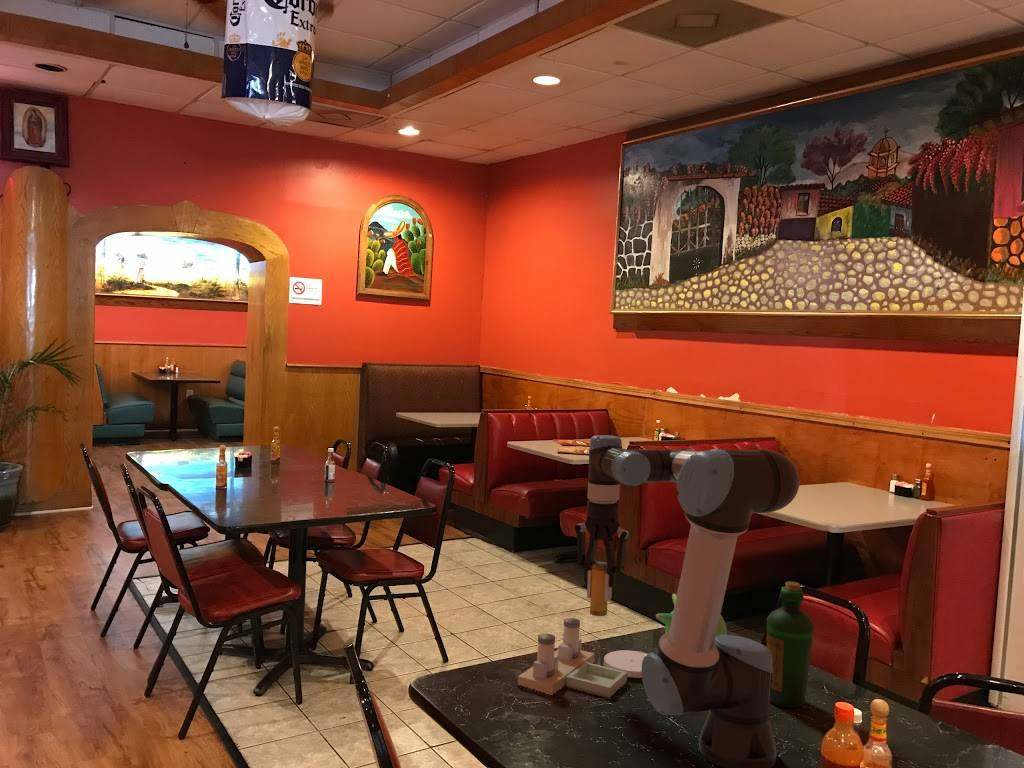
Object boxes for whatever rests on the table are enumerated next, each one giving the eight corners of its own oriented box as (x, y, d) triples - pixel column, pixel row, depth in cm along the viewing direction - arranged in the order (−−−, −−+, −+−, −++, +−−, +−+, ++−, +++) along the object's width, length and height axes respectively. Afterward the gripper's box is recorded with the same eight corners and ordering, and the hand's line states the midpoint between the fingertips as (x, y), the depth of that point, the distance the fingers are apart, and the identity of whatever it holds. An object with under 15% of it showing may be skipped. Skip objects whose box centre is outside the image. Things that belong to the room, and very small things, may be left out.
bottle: (767, 688, 204) (774, 574, 203) (813, 699, 199) (821, 582, 197) (756, 703, 195) (763, 584, 194) (803, 715, 190) (811, 593, 188)
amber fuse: (602, 617, 198) (605, 566, 198) (587, 614, 200) (589, 564, 200) (609, 612, 202) (611, 563, 201) (593, 609, 204) (596, 560, 203)
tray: (608, 698, 195) (609, 687, 194) (566, 686, 200) (566, 676, 200) (626, 682, 204) (627, 672, 204) (585, 671, 210) (585, 661, 209)
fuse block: (551, 695, 195) (554, 647, 194) (517, 686, 199) (519, 638, 198) (594, 663, 215) (596, 618, 215) (562, 655, 220) (564, 611, 219)
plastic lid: (593, 663, 216) (594, 653, 216) (640, 657, 222) (641, 647, 222) (621, 684, 203) (621, 674, 203) (670, 677, 209) (670, 667, 209)
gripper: (642, 502, 199) (638, 600, 200) (577, 494, 207) (573, 588, 208) (630, 507, 192) (626, 608, 193) (564, 498, 201) (560, 595, 202)
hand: (599, 598), depth 201 cm, fingers closed on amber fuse, 4 cm apart
